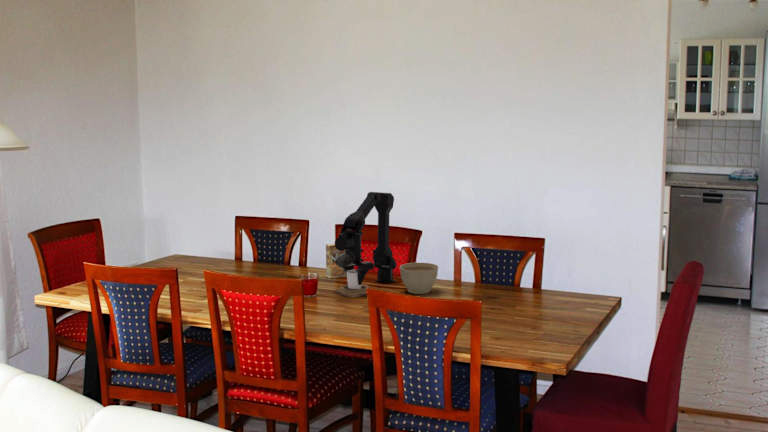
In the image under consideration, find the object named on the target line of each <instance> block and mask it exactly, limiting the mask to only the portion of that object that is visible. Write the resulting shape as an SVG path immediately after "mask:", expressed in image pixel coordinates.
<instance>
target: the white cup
mask: <svg viewBox="0 0 768 432" xmlns="http://www.w3.org/2000/svg"><path fill="white" fill-rule="evenodd" d="M355 270H357V269H353V270H347V271H346V273H347V277H346V279H347V285H348V288H350V289H359V288H361V285H362V284H363V283H362V284H361V285H359V284H358V273H357V272H356V271H355Z"/></svg>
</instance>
